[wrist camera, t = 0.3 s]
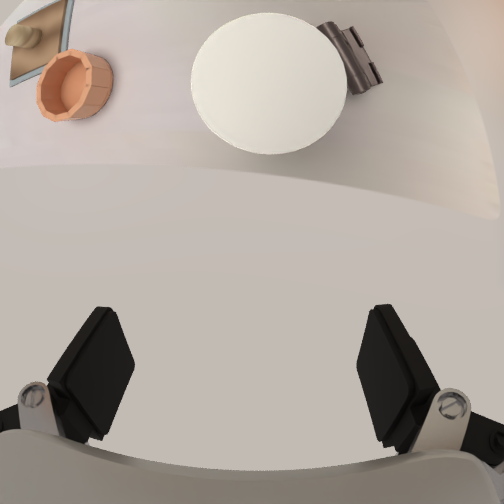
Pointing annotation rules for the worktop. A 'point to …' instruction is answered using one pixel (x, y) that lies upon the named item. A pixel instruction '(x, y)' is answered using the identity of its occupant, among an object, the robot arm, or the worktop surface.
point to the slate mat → (63, 45)
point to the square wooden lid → (36, 39)
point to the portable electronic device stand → (352, 57)
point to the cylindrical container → (268, 83)
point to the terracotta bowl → (74, 86)
